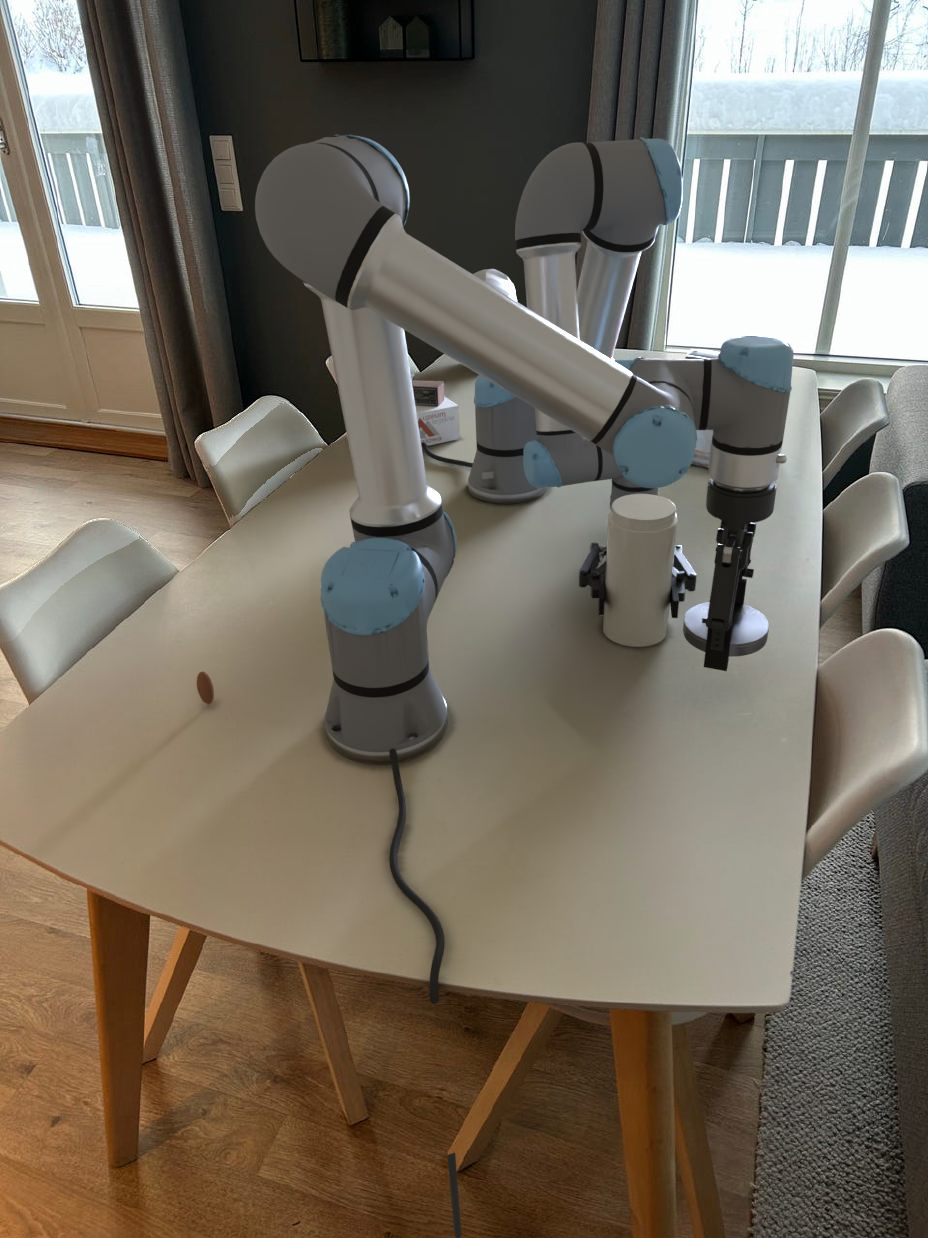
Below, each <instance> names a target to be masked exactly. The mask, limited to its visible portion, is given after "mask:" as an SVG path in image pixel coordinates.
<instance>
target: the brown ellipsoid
mask: <svg viewBox="0 0 928 1238" xmlns="http://www.w3.org/2000/svg"><path fill="white" fill-rule="evenodd" d="M196 689H197V694H198V695H199V698H200V700H201V701H202V702H203V703H204V704H206V705H210V704H211V703H212V702H213V701H214V699H215V688H214V683H213V680H212V679H211V677H210V675H209V674H208V673H207V672H206V671H200V672H199V673H198V674H197V677H196Z"/></svg>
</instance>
